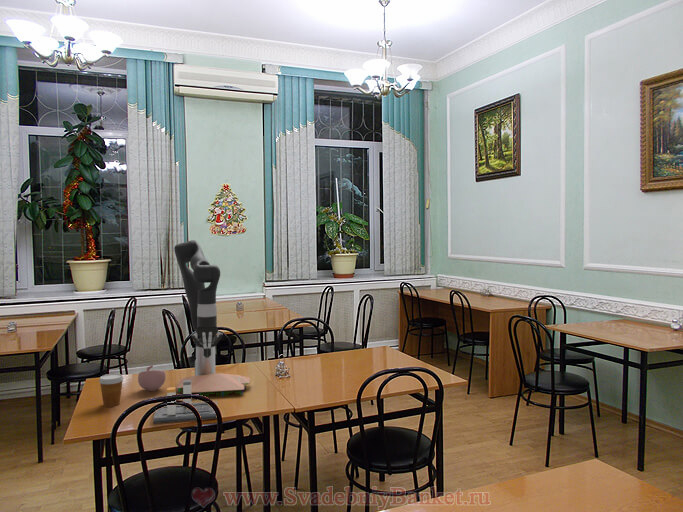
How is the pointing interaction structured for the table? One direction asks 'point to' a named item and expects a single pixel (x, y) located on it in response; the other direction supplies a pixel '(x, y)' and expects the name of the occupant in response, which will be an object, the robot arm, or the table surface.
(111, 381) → the disposable coffee cup
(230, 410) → the table surface
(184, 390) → the white fader
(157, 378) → the pink apple
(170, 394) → the orange fader
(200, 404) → the console
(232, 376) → the pink cutting board
